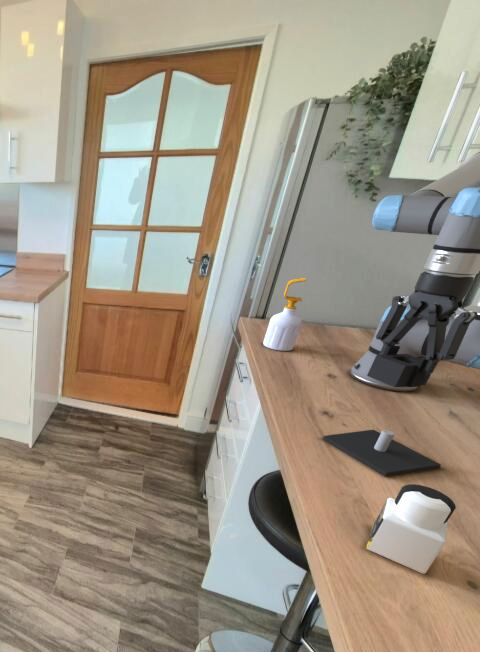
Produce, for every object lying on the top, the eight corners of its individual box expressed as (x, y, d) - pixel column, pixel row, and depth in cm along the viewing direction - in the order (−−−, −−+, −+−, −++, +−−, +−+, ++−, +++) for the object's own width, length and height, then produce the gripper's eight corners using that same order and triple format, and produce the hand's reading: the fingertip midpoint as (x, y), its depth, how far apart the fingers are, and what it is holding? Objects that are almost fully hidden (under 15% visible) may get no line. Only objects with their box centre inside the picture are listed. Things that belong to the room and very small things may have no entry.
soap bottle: (293, 353, 148) (318, 282, 137) (262, 348, 152) (284, 279, 142) (292, 345, 155) (315, 277, 144) (262, 340, 159) (283, 274, 148)
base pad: (371, 433, 103) (381, 413, 100) (439, 468, 90) (451, 446, 88) (322, 439, 101) (331, 419, 98) (384, 476, 88) (396, 454, 86)
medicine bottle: (371, 527, 76) (401, 473, 70) (427, 550, 71) (464, 494, 66) (365, 549, 71) (396, 493, 66) (424, 575, 67) (463, 517, 61)
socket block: (395, 373, 97) (405, 353, 95) (425, 385, 92) (436, 364, 90) (366, 375, 96) (376, 355, 94) (394, 387, 91) (405, 366, 89)
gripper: (382, 264, 92) (341, 363, 102) (494, 284, 75) (431, 400, 85) (411, 264, 93) (367, 361, 103) (527, 283, 76) (461, 398, 86)
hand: (396, 379), depth 94 cm, fingers closed on socket block, 6 cm apart
